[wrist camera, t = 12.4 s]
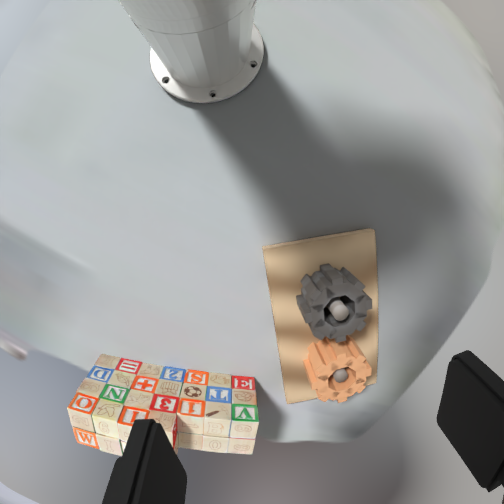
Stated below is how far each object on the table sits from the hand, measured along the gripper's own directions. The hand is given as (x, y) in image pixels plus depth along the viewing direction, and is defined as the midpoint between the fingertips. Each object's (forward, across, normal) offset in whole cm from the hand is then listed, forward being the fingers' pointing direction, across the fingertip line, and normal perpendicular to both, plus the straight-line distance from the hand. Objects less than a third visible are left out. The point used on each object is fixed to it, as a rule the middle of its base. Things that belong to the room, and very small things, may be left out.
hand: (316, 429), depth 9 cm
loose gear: (+27, -7, +16) cm, 32 cm away
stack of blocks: (+29, +14, +18) cm, 37 cm away
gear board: (+28, -7, +12) cm, 32 cm away
